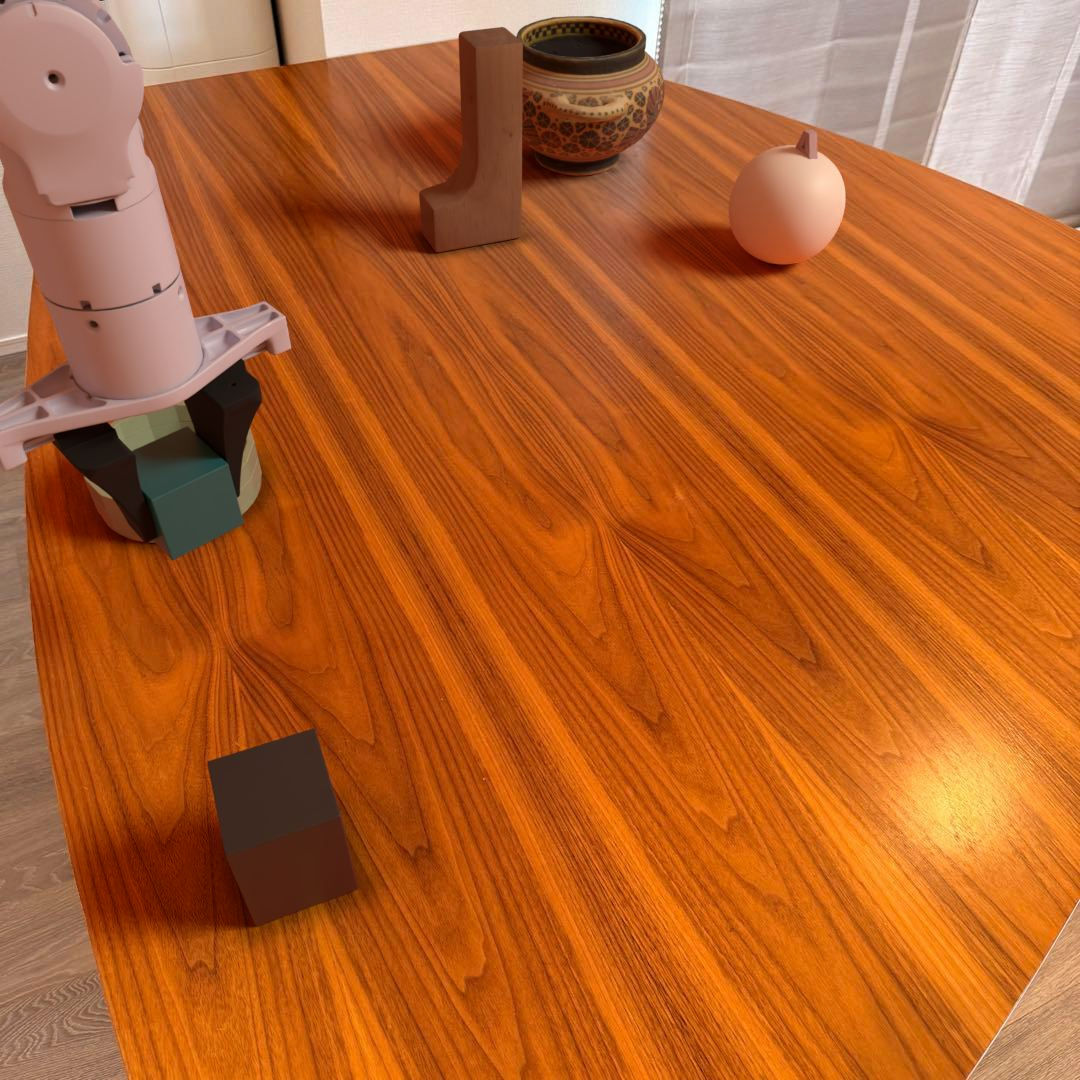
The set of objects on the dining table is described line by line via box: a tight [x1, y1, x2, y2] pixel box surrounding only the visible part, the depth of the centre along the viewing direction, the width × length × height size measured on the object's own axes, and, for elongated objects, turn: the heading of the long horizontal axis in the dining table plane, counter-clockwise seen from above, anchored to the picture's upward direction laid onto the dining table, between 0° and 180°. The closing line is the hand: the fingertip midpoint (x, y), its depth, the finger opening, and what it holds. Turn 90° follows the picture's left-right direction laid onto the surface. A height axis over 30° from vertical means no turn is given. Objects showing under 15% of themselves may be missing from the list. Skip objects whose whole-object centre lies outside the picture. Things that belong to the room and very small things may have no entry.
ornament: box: [728, 128, 847, 265], centre depth 89 cm, size 10×10×12 cm
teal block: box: [132, 426, 245, 561], centre depth 50 cm, size 4×4×4 cm
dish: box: [83, 401, 263, 544], centre depth 67 cm, size 11×11×4 cm
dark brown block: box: [206, 727, 359, 927], centre depth 46 cm, size 5×5×7 cm
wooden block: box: [418, 26, 523, 253], centre depth 89 cm, size 9×4×18 cm, turn 113°
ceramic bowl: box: [515, 15, 666, 176], centre depth 104 cm, size 24×18×15 cm
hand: (186, 509), depth 51 cm, fingers closed on teal block, 4 cm apart
